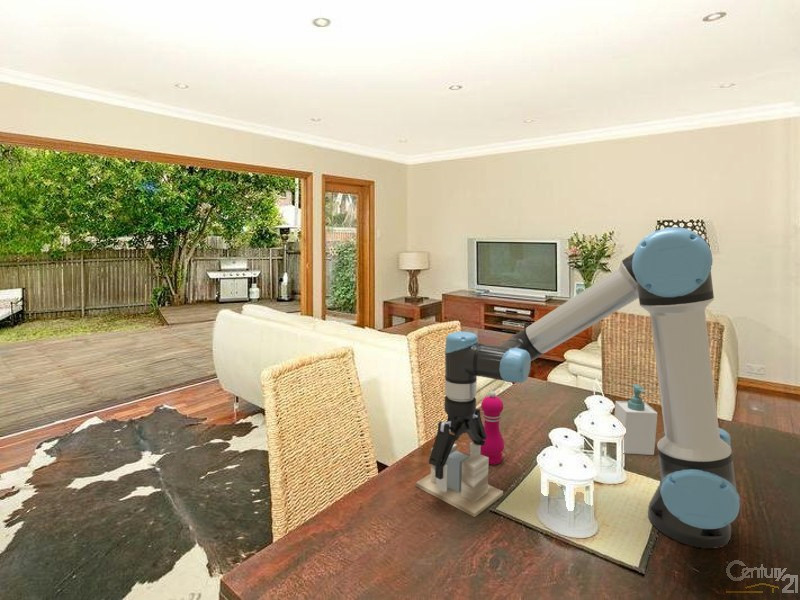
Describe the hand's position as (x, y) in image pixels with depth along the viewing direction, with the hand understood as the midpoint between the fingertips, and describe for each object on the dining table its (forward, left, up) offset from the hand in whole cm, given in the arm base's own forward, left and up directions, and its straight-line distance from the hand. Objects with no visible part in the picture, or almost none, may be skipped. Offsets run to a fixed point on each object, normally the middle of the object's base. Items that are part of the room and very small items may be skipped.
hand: (458, 478), depth 110 cm
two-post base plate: (0, 0, -3) cm, 3 cm away
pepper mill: (+3, -19, -3) cm, 20 cm away
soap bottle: (-24, -54, -3) cm, 59 cm away
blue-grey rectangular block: (0, 0, -2) cm, 2 cm away
